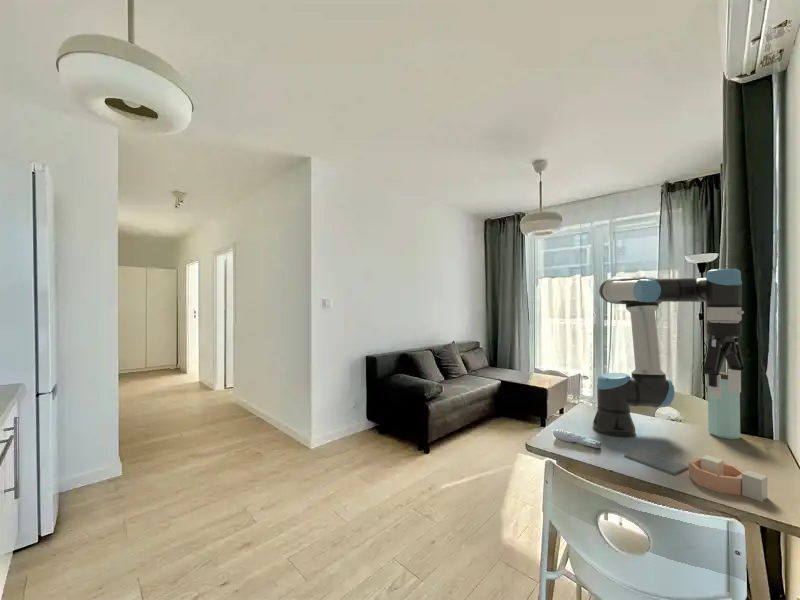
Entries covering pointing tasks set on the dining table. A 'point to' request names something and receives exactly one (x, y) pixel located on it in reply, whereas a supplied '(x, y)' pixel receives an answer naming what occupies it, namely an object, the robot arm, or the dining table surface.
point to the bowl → (717, 478)
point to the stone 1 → (712, 465)
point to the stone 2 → (754, 485)
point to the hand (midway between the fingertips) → (724, 394)
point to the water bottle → (724, 412)
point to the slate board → (656, 462)
